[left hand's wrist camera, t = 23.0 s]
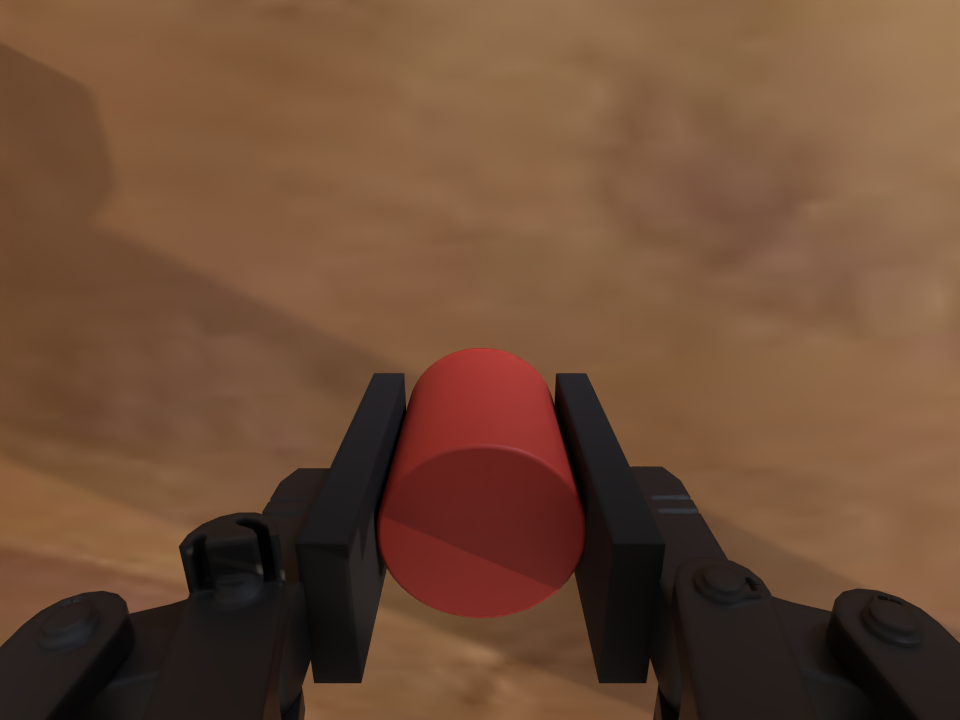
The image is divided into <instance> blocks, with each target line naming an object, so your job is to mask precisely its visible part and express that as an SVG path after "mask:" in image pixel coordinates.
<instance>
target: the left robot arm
mask: <svg viewBox="0 0 960 720" xmlns="http://www.w3.org/2000/svg"><path fill="white" fill-rule="evenodd" d="M555 410H556V413H557V417H558V420H559V424H560V427H561V431H562V434H563V438H564V441H565V445H566V448H567V452H568V455H569V459H570V462H571V466H572V469H573V473H574V476H575V480H576V483H577V487H578V490H579V494H580V497H581V501H582V504H583V508H584V511H585V516H586V534H585V545H584V550H583V553H582V556H581V559H580V561H579V563H578V565H577V567H576V569H575V571H574V572H575V576H576V581H577V585H578V590H579V594H580V599H581V603H582V608H583V612H584V617H585V621H586V626H587V630H588V635H589V639H590V644H591V649H592V653H593V658H594V662H595V667H596V671H597V676H598V680H599V683H646V681H647V674H648V667H649V660H650V659H651V662H652V665H653V668H654V671H655V674H656V677H657V680H658V683H659V684H658V691H657V697H656V704H655V710H654V717H653V720H960V643H959V642H958V641H957V640H956V639H955V638H954V637H953V636H952V635H951V634H950V633H949V632H948V631H947V630H946V629H945V628H944V627H943V626H942V625H941V624H940V623H938V622H937V621H936V620H935V619H933V618H932V617H931V616H929V615H928V614H927V613H926V612H924V611H923V610H922V609H920V608H919V607H917V606H915V605H913V604H911V603H909V602H907V601H905V600H903V599H901V598H899V597H896V596H893V595H890V594H887V593H884V592H881V591H877V590H867V589H854V590H849V591H844V592H843V593H842V594H841V595H839V596H838V597H837V598H836V599H835V602H834V606H833V609H832V612H831V611H827V610H822V609H818V608H814V607H809V606H805V605H801V604H796V603H792V602H789V601H785V600H782V599H779V598H776V597H773V596H771V593H770V592H769V590H768V588H767V587H766V585H765V584H764V582H763V581H762V580H761V579H760V578H759V577H758V576H756V575H755V574H754V573H753V572H751V571H750V570H749V569H747V568H745V567H743V566H741V565H739V564H737V563H735V562H733V561H730V560H728V559H727V557H726V556H725V554H724V552H723V551H722V549H721V547H720V546H719V544H718V542H717V541H716V539H715V537H714V536H713V534H712V532H711V531H710V529H709V527H708V526H707V524H706V522H705V521H704V519H703V517H702V516H701V514H699V513H698V509H697V507H696V506H695V504H694V502H693V501H692V500H690V496H689V494H688V492H687V491H686V489H685V487H684V486H683V484H682V482H681V481H680V480H679V479H678V478H676V477H675V476H674V475H672V474H671V473H670V472H668V471H667V470H666V469H665V468H663V467H630V466H629V464H628V462H627V460H626V458H625V456H624V453H623V451H622V449H621V447H620V445H619V443H618V441H617V438H616V436H615V434H614V432H613V430H612V428H611V426H610V423H609V421H608V419H607V417H606V415H605V413H604V411H603V408H602V406H601V404H600V402H599V400H598V398H597V396H596V393H595V391H594V389H593V387H592V385H591V383H590V381H589V378H588V376H587V374H586V373H556V386H555ZM405 414H406V399H405V379H404V373H374V375H373V377H372V379H371V381H370V384H369V386H368V388H367V390H366V392H365V394H364V396H363V399H362V401H361V403H360V405H359V407H358V409H357V411H356V414H355V416H354V418H353V420H352V422H351V424H350V426H349V429H348V431H347V433H346V435H345V437H344V439H343V441H342V444H341V446H340V448H339V450H338V452H337V454H336V456H335V459H334V461H333V463H332V465H331V467H330V468H298V469H297V470H296V471H294V472H293V473H292V474H291V475H289V476H288V477H287V478H285V479H284V480H283V481H281V482H280V483H279V485H278V487H277V489H276V490H275V492H274V494H273V495H272V497H271V500H270V502H268V504H267V505H266V507H265V509H264V510H263V512H262V514H259V513H235V514H230V515H225V516H221V517H218V518H216V519H214V520H211V521H209V522H206V523H204V524H202V525H201V526H199V527H198V528H196V529H195V530H194V531H192V532H191V533H189V534H188V535H187V536H186V538H185V539H184V540H183V542H182V543H181V544H180V546H179V549H180V553H181V558H182V562H183V566H184V571H185V575H186V580H187V584H188V588H189V593H190V594H189V597H188V599H186V600H183V601H180V602H176V603H173V604H170V605H166V606H161V607H157V608H153V609H148V610H144V611H140V612H135V613H131V614H129V611H128V607H127V604H126V602H125V601H124V600H123V599H122V598H121V597H120V596H119V595H118V594H115V593H110V592H106V591H97V592H88V593H82V594H79V595H76V596H72V597H69V598H66V599H63V600H61V601H59V602H57V603H55V604H53V605H51V606H49V607H47V608H45V609H44V610H42V611H40V612H39V613H38V614H36V615H35V616H34V617H32V618H31V619H30V620H29V621H27V622H26V623H25V624H24V625H22V626H21V627H20V628H19V629H18V630H17V631H16V632H15V633H14V634H13V635H12V636H11V637H10V638H9V639H8V640H7V641H6V642H5V643H4V644H3V645H2V646H1V647H0V720H304V715H305V705H304V697H303V691H302V685H303V681H304V678H305V675H306V672H307V669H308V666H309V663H310V660H311V664H312V671H313V678H314V683H361V682H362V677H363V673H364V668H365V664H366V659H367V655H368V650H369V646H370V641H371V637H372V632H373V628H374V623H375V619H376V614H377V610H378V605H379V601H380V596H381V591H382V587H383V582H384V578H385V573H386V569H387V567H386V565H385V563H384V561H383V559H382V556H381V553H380V550H379V546H378V541H377V534H376V529H377V517H378V512H379V508H380V504H381V501H382V497H383V493H384V490H385V486H386V483H387V479H388V475H389V472H390V468H391V465H392V461H393V457H394V454H395V450H396V447H397V443H398V439H399V436H400V432H401V429H402V425H403V421H404V418H405Z"/></svg>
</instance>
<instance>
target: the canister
mask: <svg viewBox="0 0 960 720" xmlns="http://www.w3.org/2000/svg"><path fill="white" fill-rule="evenodd" d="M376 534H377V541H378V546H379V550H380V553H381V556H382V559H383V561H384V563H385V565H386V567H387V569H388V570H389V572H390V573H391V575H392V577H393V578H394V579H395V580H396V581H397V583H398V584H399V585H400V586H401V587H402V588H403V589H404V590H406V591H407V592H408V593H409V594H410V595H412V596H413V597H414V598H416V599H417V600H419V601H420V602H422V603H424V604H426V605H428V606H430V607H432V608H435V609H437V610H440V611H442V612H446V613H449V614H453V615H458V616H464V617H474V618H490V617H499V616H506V615H510V614H514V613H518V612H521V611H523V610H526V609H529V608H531V607H533V606H535V605H537V604H539V603H541V602H543V601H544V600H546V599H547V598H549V597H550V596H552V595H553V594H554V593H555V592H556V591H558V590H559V589H560V588H561V587H562V586H563V585H564V584H565V583H566V582H567V581H568V579H569V578H570V576H571V575H572V574H573V572H574V571H575V569H576V567H577V565H578V563H579V561H580V559H581V556H582V553H583V550H584V545H585V534H586V516H585V511H584V508H583V504H582V501H581V497H580V494H579V490H578V487H577V483H576V480H575V476H574V473H573V469H572V466H571V462H570V459H569V455H568V452H567V448H566V445H565V441H564V438H563V434H562V431H561V427H560V424H559V420H558V417H557V413H556V410H555V406H554V403H553V399H552V396H551V393H550V390H549V388H548V386H547V384H546V383H545V381H544V380H543V378H542V377H541V375H540V374H539V373H538V372H537V371H536V370H535V369H534V368H533V367H532V366H531V365H529V364H528V363H527V362H525V361H524V360H522V359H521V358H519V357H517V356H515V355H513V354H510V353H507V352H504V351H501V350H496V349H488V348H473V349H467V350H462V351H458V352H455V353H452V354H450V355H448V356H445V357H443V358H442V359H440V360H439V361H437V362H435V363H434V364H433V365H432V366H431V367H429V368H428V369H427V370H426V371H425V372H424V373H423V374H422V376H421V377H420V379H419V380H418V381H417V383H416V385H415V387H414V389H413V391H412V394H411V397H410V400H409V403H408V407H407V411H406V414H405V418H404V421H403V425H402V429H401V432H400V436H399V439H398V443H397V447H396V450H395V454H394V457H393V461H392V465H391V468H390V472H389V475H388V479H387V483H386V486H385V490H384V493H383V497H382V501H381V504H380V508H379V512H378V517H377V529H376Z"/></svg>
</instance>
